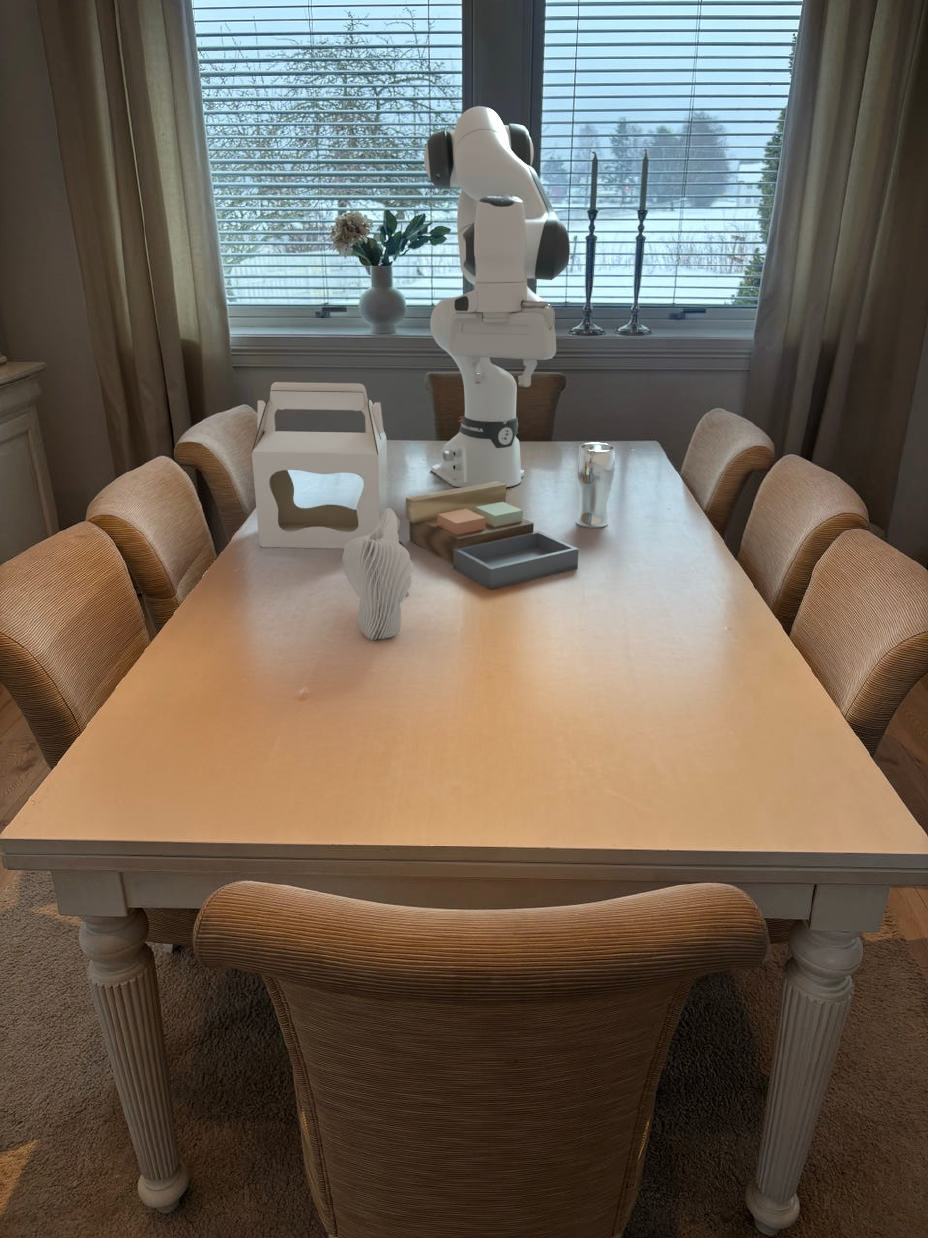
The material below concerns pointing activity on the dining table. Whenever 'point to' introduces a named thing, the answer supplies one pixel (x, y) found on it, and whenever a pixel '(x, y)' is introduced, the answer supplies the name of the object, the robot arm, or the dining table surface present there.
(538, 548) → the box
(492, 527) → the dark wooden square block
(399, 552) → the shell sculpture
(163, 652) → the dining table surface
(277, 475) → the gable box
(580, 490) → the beer glass
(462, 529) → the terracotta tile
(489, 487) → the bar
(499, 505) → the sage tile
